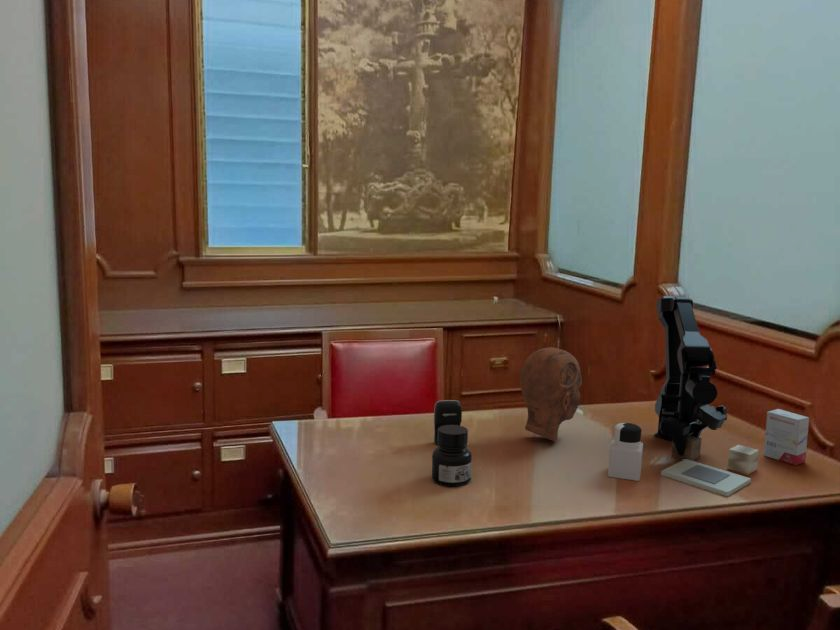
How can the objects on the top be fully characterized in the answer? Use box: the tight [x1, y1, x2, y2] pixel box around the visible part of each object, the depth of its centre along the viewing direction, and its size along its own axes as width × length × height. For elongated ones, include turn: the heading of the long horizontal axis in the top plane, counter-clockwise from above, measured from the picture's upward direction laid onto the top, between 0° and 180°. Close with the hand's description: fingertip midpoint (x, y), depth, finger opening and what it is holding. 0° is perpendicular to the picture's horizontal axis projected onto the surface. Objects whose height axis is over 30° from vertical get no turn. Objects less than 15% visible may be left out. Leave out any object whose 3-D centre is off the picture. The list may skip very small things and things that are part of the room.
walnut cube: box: [671, 435, 702, 461], centre depth 187 cm, size 5×5×5 cm
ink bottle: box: [431, 425, 473, 487], centre depth 168 cm, size 10×9×12 cm
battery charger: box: [433, 399, 463, 445], centre depth 191 cm, size 7×4×11 cm, turn 98°
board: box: [660, 459, 752, 497], centre depth 173 cm, size 16×12×1 cm
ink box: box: [763, 408, 810, 466], centre depth 186 cm, size 9×5×12 cm, turn 33°
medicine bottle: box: [607, 422, 644, 482], centre depth 174 cm, size 7×7×12 cm
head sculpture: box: [519, 346, 583, 442], centre depth 196 cm, size 16×18×25 cm
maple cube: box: [727, 444, 760, 475], centre depth 180 cm, size 5×5×5 cm
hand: (686, 452), depth 187 cm, fingers closed on walnut cube, 5 cm apart
